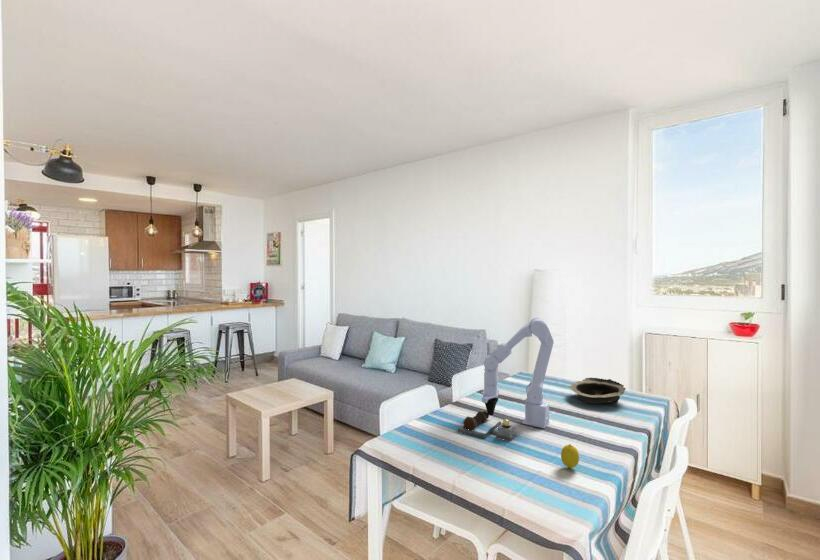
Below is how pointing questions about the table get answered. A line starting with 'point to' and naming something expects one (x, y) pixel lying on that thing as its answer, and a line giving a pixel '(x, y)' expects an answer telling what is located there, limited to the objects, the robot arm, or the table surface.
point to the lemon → (570, 456)
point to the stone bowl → (598, 390)
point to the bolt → (475, 420)
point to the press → (493, 432)
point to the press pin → (506, 423)
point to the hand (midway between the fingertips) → (490, 414)
